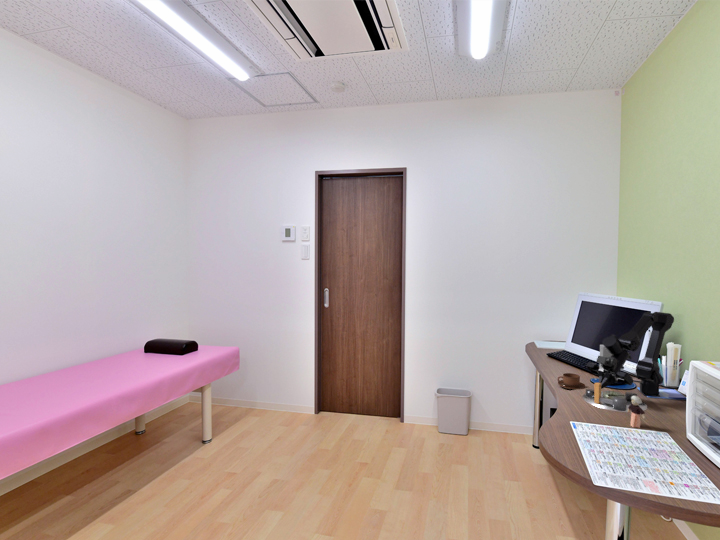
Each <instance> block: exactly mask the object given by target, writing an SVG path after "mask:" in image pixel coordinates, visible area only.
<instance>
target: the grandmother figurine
mask: <svg viewBox="0 0 720 540" xmlns="http://www.w3.org/2000/svg"><path fill="white" fill-rule="evenodd" d="M631 399H632V404H631V405H630V406H629V407H628V410H627V411H628V412H627V413H630V427H631V426H632V428H639V429H640V428H641V417H642V419H644V420H646V419H647V417H646V414H645V413H646V412H644V411H645V410H644V411H643V410H642V409H641V408H640V407H639V406H638V405H639V404H640V403H642V402H643V401H642V399H641V398H640V397H639V396H638V395H637V396H632V397H631Z"/></svg>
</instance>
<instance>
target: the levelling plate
mask: <svg viewBox="0 0 720 540" xmlns="http://www.w3.org/2000/svg"><path fill="white" fill-rule="evenodd" d="M632 396H638V394H637V393H634V392H632V391H631V392H629V391H628V392H625V394H624V393H622V392H620V391H614V390H605V391H601V397H603V398H607V399H611V400H613V397H622V398H625V399H627V410H628V407H629V406H630V405H631V404H632V399H631V397H632ZM582 400H583V401H584V402H586V403H588V404H590V405H591V406H594V407H597V408H600V409H604V410H607V411H615V412H622V413H629V412H628V411H627V410H617V409H614V408H613V405H611V404H607V403H603V402H601V403H599V404H598V403H594V389H592V388H587V389H585V393H584V394H583V395H582ZM638 406H639V407H640V408H641V409H642V410H643V411H646V410H647V409H648V405H647V404H646V403H645V402H644V401H642V403H640V404H639V405H638Z"/></svg>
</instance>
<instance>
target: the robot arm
mask: <svg viewBox="0 0 720 540" xmlns="http://www.w3.org/2000/svg"><path fill="white" fill-rule="evenodd" d="M674 322H675V318H674V315H673V314H672V313H671V312H670V313H669V312H660V311H654V312H643V314H642V316H641V318H640V319H639V320H638V321H637V323H636V324H635V325H634V326H633V327H632V328H631V330H629V331H628V332H625V333H623V334H622V335H620V337H618V336H617V335H615V334H610V336H607V337H605V338H603V339H602V342H601V343H602V344H601V345H604V347H605V348H606V349H607V350H608V352H609V353H611V354H612V355H611V357H610V358H609V357H607V358H606V357H603V356H600V355H597V358H596V361H595V362H596V363H594V362H591V361H589V362H588V363H587V364H586V365H585V367H586V368H587V370H588V371H589V372H590V373H591V374H593V375H595V376H598V383H601V390H602V389H604V388H607V387H608V386H610V385H612V384H614V383H616V384H618V380H619V379H620V380H623V384H625V385H629V386H632V385H633V383H634V379H633V377H632V376H631V375H630V374H629V372H626V371H624V369H625V367H624V365H625V363H626V361H627V360H632V359H633V358H632V356H631V352H636V351H637V350H638V349H639V348H640V346H641V344H642V343H641V339H642V338H643V336H644V335H646V333H647V332H648V330H650V328H651V329H652V330H651V333H650V336H649V340H648V344H647V347H646V350H645V355H644V357H643V359H638V360H637V364H636V366H635V374H636V377H637V380H640V382H639V392H640V393H641V394H642V395H643V396H648V397H661V394H660V385H662V384H663V383H664V377H663V376H662V374H661V373H660V371H661V370H660V368H661V367H660V366H659V363H658V359H659V356H660V352H661V349H662V345H663V341H664V338H665V334H666V332H668V331H669V330H670V329H671V328H672V326H673V324H674ZM629 351H630V352H629ZM597 363H598V364H597ZM599 363H600V364H601V366H602V367H603V368H600V367H599Z"/></svg>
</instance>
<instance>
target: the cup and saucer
mask: <svg viewBox="0 0 720 540" xmlns="http://www.w3.org/2000/svg"><path fill="white" fill-rule="evenodd" d="M580 377H581V375H579V374H576V373H569V372H566V373H562V376H560V375H559V376H558V377H557V381H558V382H557V384H558V385H559V387H561V388H564V389H567V390H571V389H572V391H575V390H583V389H585V388H586V384H585V383H583V382H580V381H581V380H580ZM560 378H561V379H562V380H560ZM563 385H565V386H563Z"/></svg>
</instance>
